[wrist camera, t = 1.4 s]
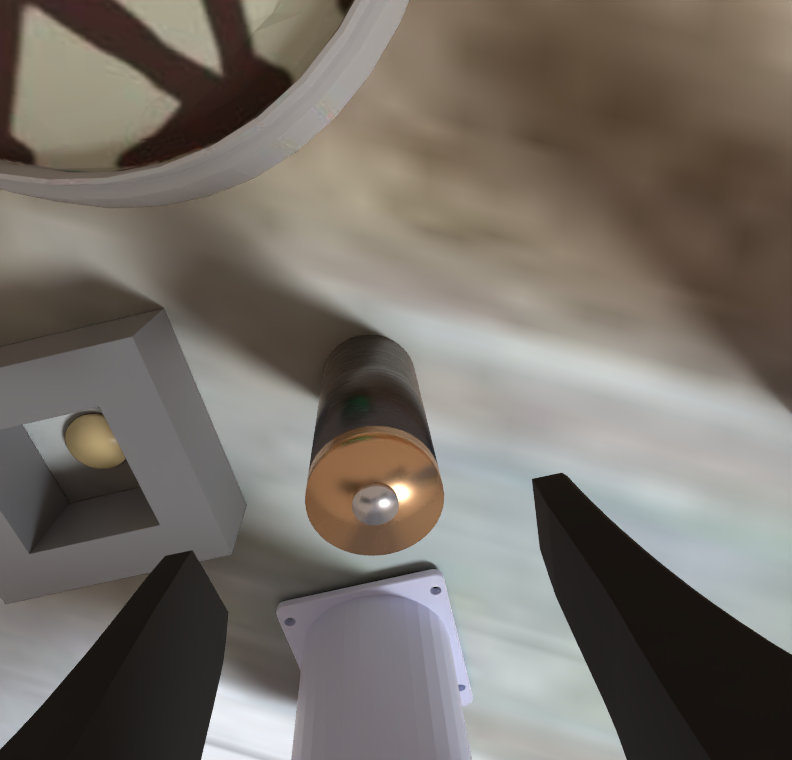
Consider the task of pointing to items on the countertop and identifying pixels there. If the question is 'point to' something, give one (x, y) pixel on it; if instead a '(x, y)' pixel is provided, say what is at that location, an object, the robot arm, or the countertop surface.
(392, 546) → the battery cell
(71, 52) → the food container
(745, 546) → the countertop surface
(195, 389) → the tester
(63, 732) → the robot arm
